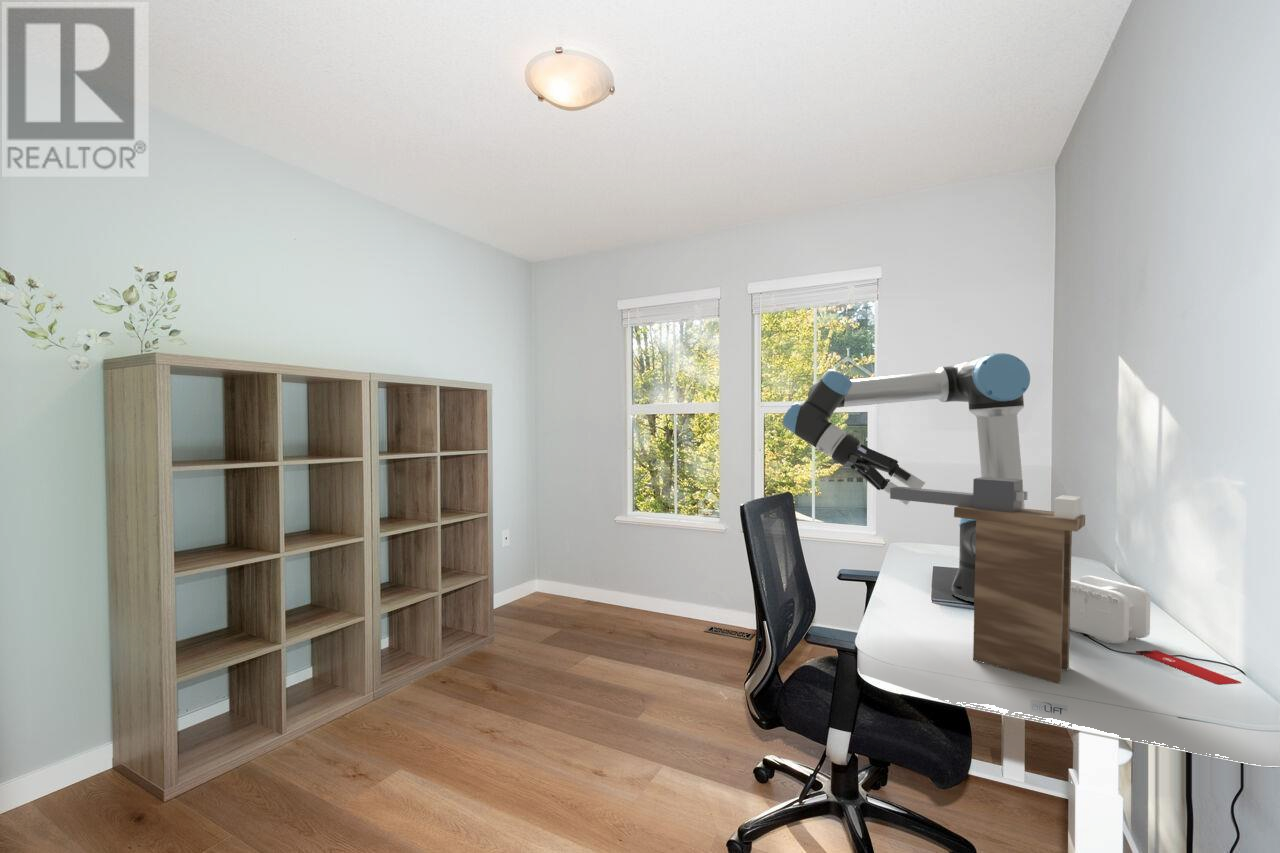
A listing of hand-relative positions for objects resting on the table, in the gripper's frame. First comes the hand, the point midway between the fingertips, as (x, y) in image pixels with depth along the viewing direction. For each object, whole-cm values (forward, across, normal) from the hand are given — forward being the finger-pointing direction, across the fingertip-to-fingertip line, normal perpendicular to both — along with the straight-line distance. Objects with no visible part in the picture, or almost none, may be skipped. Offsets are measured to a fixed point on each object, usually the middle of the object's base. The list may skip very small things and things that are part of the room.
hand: (915, 494), depth 138 cm
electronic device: (+57, +3, -1) cm, 57 cm away
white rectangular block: (+22, +25, +5) cm, 34 cm away
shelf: (+32, +11, -22) cm, 40 cm away
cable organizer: (+48, -12, -1) cm, 50 cm away
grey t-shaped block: (+7, +16, -2) cm, 17 cm away
